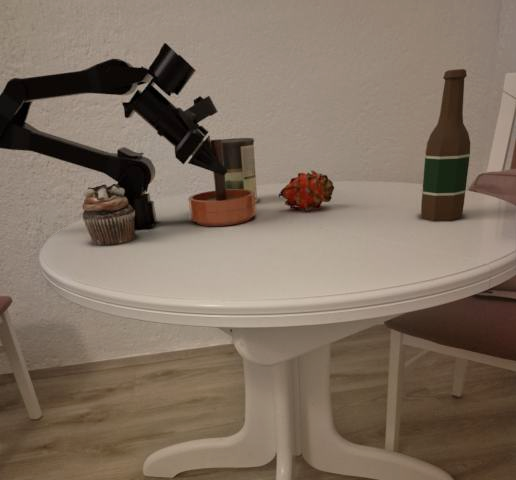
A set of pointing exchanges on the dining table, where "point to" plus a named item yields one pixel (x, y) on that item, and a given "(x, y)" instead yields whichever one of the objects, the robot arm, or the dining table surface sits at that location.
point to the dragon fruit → (307, 191)
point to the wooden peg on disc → (218, 178)
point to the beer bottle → (447, 155)
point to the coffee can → (239, 164)
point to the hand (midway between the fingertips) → (225, 172)
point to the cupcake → (108, 215)
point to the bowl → (222, 208)
